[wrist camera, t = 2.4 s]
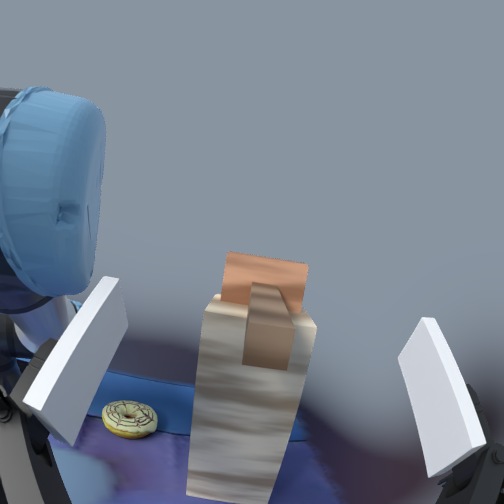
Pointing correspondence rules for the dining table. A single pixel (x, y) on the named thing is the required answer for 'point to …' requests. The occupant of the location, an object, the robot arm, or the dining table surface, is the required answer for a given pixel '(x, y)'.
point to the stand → (242, 408)
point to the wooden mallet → (265, 304)
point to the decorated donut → (129, 419)
